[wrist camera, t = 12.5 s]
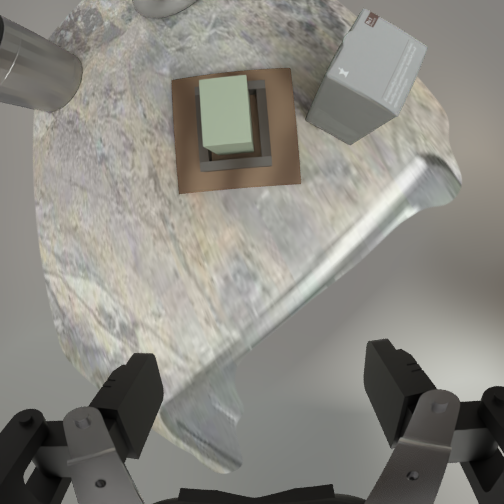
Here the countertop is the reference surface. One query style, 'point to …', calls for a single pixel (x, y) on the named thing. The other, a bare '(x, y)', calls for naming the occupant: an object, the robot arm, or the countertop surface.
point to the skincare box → (366, 79)
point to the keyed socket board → (263, 128)
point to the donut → (160, 7)
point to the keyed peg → (226, 115)
